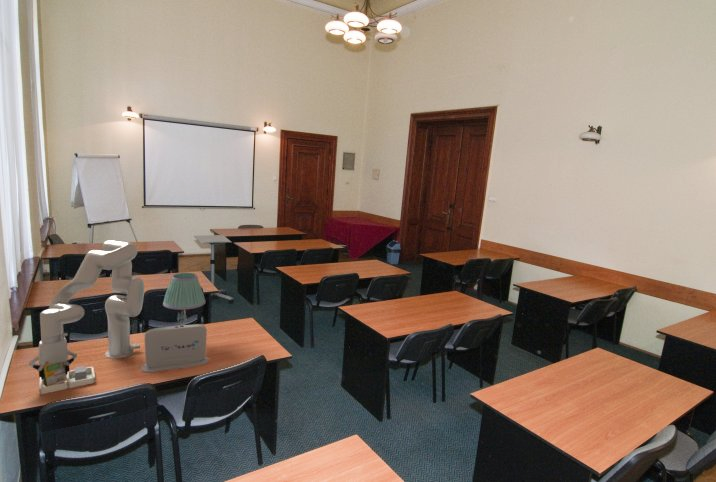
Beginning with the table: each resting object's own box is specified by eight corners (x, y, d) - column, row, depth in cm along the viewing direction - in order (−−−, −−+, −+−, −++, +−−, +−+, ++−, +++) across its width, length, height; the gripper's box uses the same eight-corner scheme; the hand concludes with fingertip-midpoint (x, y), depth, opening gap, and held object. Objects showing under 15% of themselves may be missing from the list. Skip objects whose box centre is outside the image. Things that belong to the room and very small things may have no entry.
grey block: (85, 375, 180) (85, 365, 180) (86, 381, 176) (86, 371, 175) (75, 377, 178) (74, 367, 177) (75, 383, 173) (75, 373, 172)
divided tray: (93, 372, 185) (93, 366, 184) (95, 384, 176) (95, 377, 175) (40, 383, 173) (39, 376, 172) (39, 396, 164) (39, 389, 163)
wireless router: (140, 374, 187) (140, 334, 184) (141, 364, 196) (140, 326, 192) (210, 364, 202) (210, 327, 198) (207, 355, 210) (208, 320, 207)
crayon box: (63, 378, 175) (61, 353, 173) (66, 380, 174) (65, 356, 172) (43, 385, 169) (42, 360, 167) (46, 387, 167) (45, 362, 165)
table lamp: (163, 338, 226) (163, 271, 219) (204, 335, 234) (205, 270, 228) (161, 355, 206) (161, 282, 200) (205, 351, 215) (206, 280, 208)
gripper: (77, 330, 176) (78, 367, 179) (26, 338, 165) (29, 376, 168) (77, 337, 170) (79, 374, 173) (25, 345, 159) (28, 384, 162)
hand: (54, 375), depth 171 cm, fingers closed on crayon box, 7 cm apart
